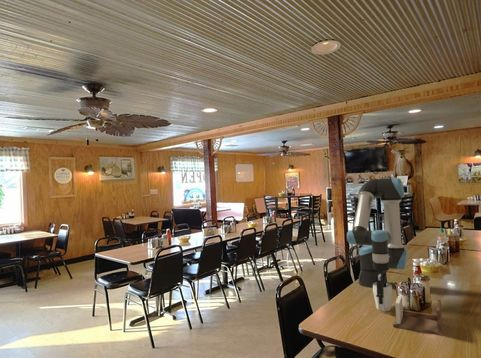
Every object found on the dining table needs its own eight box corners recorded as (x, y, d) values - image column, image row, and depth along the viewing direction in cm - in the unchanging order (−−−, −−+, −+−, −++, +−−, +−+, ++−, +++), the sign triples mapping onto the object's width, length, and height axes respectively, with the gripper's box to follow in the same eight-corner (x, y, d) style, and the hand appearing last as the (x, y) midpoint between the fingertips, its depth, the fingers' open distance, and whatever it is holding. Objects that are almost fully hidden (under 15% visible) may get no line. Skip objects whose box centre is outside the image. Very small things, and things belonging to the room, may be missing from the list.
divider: (396, 323, 143) (395, 302, 143) (399, 314, 151) (398, 295, 152) (400, 324, 142) (399, 303, 142) (403, 315, 151) (402, 295, 151)
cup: (376, 303, 169) (375, 280, 169) (395, 307, 163) (394, 283, 164) (371, 309, 162) (370, 285, 162) (390, 313, 156) (389, 288, 157)
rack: (393, 326, 143) (391, 303, 143) (397, 315, 154) (396, 294, 154) (441, 335, 133) (440, 310, 133) (442, 323, 144) (440, 299, 144)
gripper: (385, 267, 152) (388, 316, 152) (392, 257, 170) (394, 300, 170) (368, 266, 156) (371, 313, 156) (376, 256, 174) (379, 298, 174)
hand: (383, 306), depth 163 cm, fingers closed on cup, 9 cm apart
